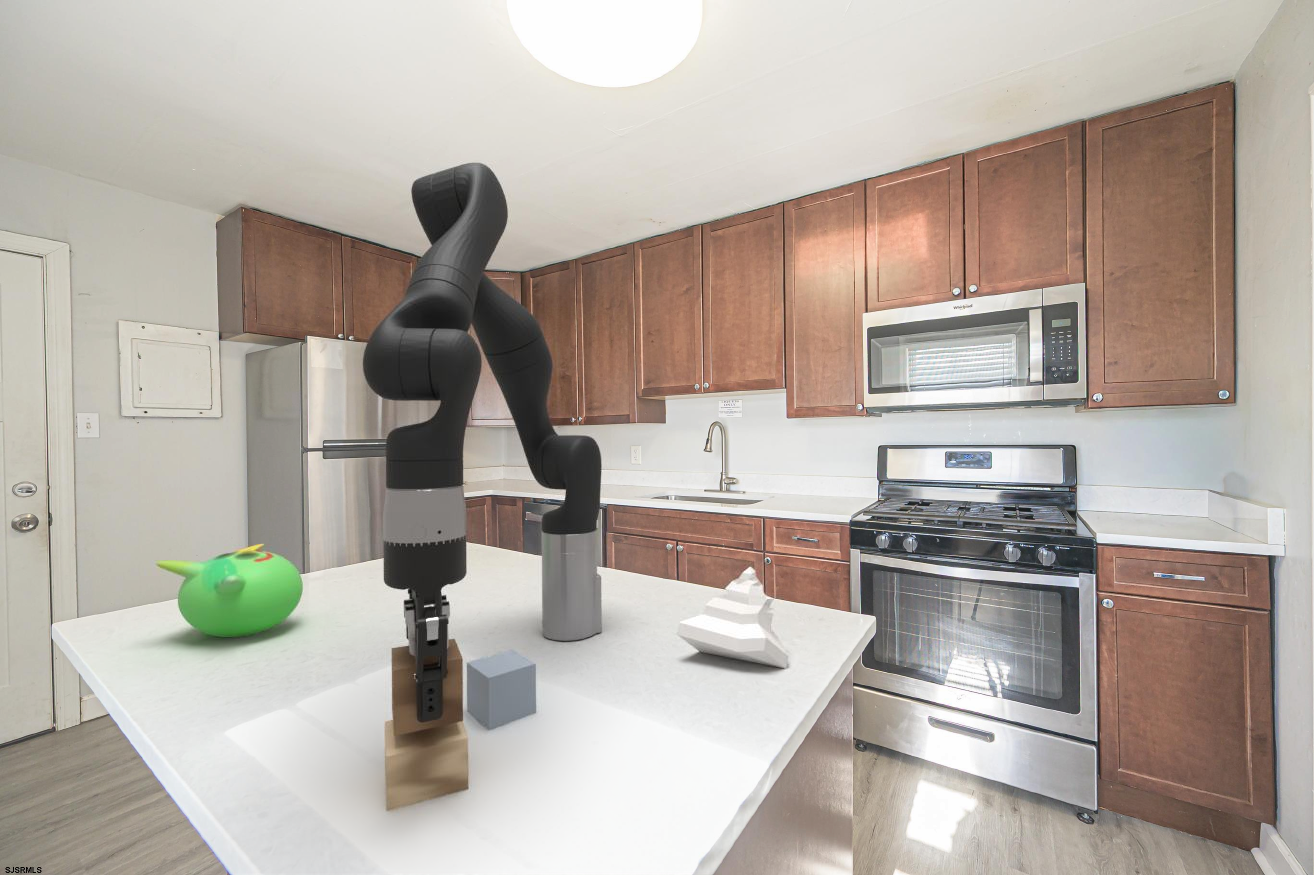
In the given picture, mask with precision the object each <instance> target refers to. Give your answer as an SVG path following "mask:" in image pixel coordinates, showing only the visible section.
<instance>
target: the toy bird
mask: <svg viewBox="0 0 1314 875" xmlns="http://www.w3.org/2000/svg"><path fill="white" fill-rule="evenodd" d="M264 545H265V543H260V544H259V543H258V544H254V545H252V546H248V547H245V548H242V549H239V550H236V551H233V552H227V553H222V554H220V555H218V556H215V557H213V558H210V559H207V560H206V561H204V562H202V561H187V560H159V561H157V562H156V566H157V567H159V568H160V569H163V570H165V571H168V572H171V573H173V574H176V575H178V576H181V577H184V579H183V581H182V584H181V586H180V587H179V590H178V593H177V606H178V609H179V612H180V614H181V615H182V617H183V618H184V620H185V621H186V622H187V623H188V625H190V626H191V627H192V628H194V629H196V630H197V631H199V632H202V633H204V634H206V635H210V636H215V637H221V638H238V637H246V636H250V635H255V634H258V633H262V632H264V631H266V630H269V629H272V628H273V627H274V628H275V626H277V625H279V624H280V623H282V622H283V621H285V620H286V619H287V618H288V617H290V615H291V614H292V613H293V612H294V611H295V610H296V608H297V607H298V604H299V602H300V601H301V598H302V595H303V589H304V585H303V578H302V576H301V574H300V572H299V570H298V569H297V567H296V566H295V565H294V564H292V562H291V561H289V559H286V558H285V557H283V556H281V555H279V554H276V553H272V552H269V551H265V550H264V551H263V550H259V549H260V548H262V547H263V546H264Z"/></svg>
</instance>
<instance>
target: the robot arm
mask: <svg viewBox="0 0 1314 875" xmlns="http://www.w3.org/2000/svg"><path fill="white" fill-rule="evenodd" d="M411 200H412V204H413V207H414V210H415V214H416V216H417V219H418V220H419V222H420V225H421V228H422V229H423V232H424V234H425V236H426V237H427V240H428V241H429V243H430V245H431V246H430V247H429V248H428V249H427V250H426V252H424V254H423V255H422V256H421V258H420V259H419V260H418V262H417V263H416V265H415V266H414V269H413V272H412V273H411V276H410V280H409V282H408V286H407V289H406V291H405V295H404V298H402V300H401V301H399V303H398V304H397V305H395V307H394V308H392V310H391V311H390V312H389V313H388V314H387V315H386V316H385V318H384V319H382V320H381V322H379V324H378V325H377V326H376V328H375V329H374V330H373V331H372V333H371V335H370V336H369V339H368V340H367V341H366V342H367V343H366V345H365V348H364V352H363V357H362V370H363V375H364V378H365V381H366V383H367V384H368V386H369V388H370V389H371V390H372V392H374V394H376V395H377V396H378V397H381V398H383V399H385V400H389V401H399V402H400V401H401V402H402V401H404V402H405V401H406V402H407V401H408V402H409V401H413V402H415V401H416V402H417V401H420V402H421V401H424V402H427V401H430V402H432V401H434V402H439V401H440V402H439V403H440V404H439V406H438V409H437V411H436V412H435V413H434V415H433V416H432V417H431V418H429V419H428V420H425V421H423V422H422V421H421V422H418V423H413V424H408V425H403V426H400V427H396V428H394V429H392V430H391V431H389V433H388V434H387V436H386V441H385V460H386V461H385V487H386V489H385V496H384V499H385V500H384V504H383V513H382V514H383V516H382V519H383V520H382V521H383V522H382V525H383V526H382V527H383V528H382V530H383V536H382V537H383V540H382V541H383V544H382V545H383V552H382V553H383V582H384V584H385V585H386V586H387V587H389V588H391V589H394V590H403V591H404V590H407V594H408V596H409V598H407V599H403V618H404V623H405V636H406V639H407V640H408V646H409V654H410V656H412V657H414V658H415V673H414V679H415V680H416V683H417V719H418V721H419V722H427V721H432V720H437V719H439V718H441V717H442V715H443V679H445V678H447V674H448V668H447V648H448V647H449V639H450V637H449V621H450V620H449V618H450V616H451V608H450V600H447V595H446V594H443V595H442V589H443V588H444V587H446V586H447V585H453V584H457V583H459V582H460V581H462V580H464V578H465V577H466V575H467V572H468V571H467V569H468V568H467V508H466V507H467V506H466V498H465V493H464V492H465V490H464V446H465V445H464V442H465V436H466V430H467V423H468V420H469V414H470V412H471V407H472V405H473V401H474V397H475V394H476V391H477V388H478V385H479V382H480V377H481V374H482V354H481V350H482V352H483V354H484V357H485V359H486V361H487V364H488V366H489V368H490V370H491V372H492V375H493V376H494V379H495V381H496V383H497V384H498V386H499V389H500V390H501V393H502V395H503V398H504V401H505V403H506V406H507V408H508V410H509V413H510V415H511V417H512V420H513V422H514V425H515V427H516V431H517V433H518V436H519V440H520V442H521V446H522V448H523V449H522V450H523V452H524V455H525V458H526V461H527V464H528V466H529V469H530V472H531V474H532V476H533V478H534V479H535V481H536V483H537V484H539V485H540V486H541V487H543V488H546V489H548V490H549V489H550V490H560V491H561V490H563V491H565V493H564V494H565V495H564V501H563V502H562V504H561V505H560V506H558V507H557V508H556V509H553V510H552V509H551V510H549V511H546V512H545V513H544V514H543V515H542V516H541V517H542V518H541V601H542V602H541V603H542V604H541V605H542V606H541V608H542V609H541V610H542V611H541V624H542V630H541V631H542V635H543V636H544V637H545V638H547V639H548V640H549V639H550V640H554V641H561V642H562V641H565V642H566V641H579V640H582V639H588V638H589V637H591V636H594V635H596V634H599V633H602V629H603V628H602V625H603V624H602V622H603V621H602V618H603V617H602V616H603V615H602V605H603V604H602V576H601V575H600V574H599V573H598V547H597V546H598V538H597V537H598V534H597V533H598V525H597V524H598V518H599V514H600V508H601V487H602V486H601V485H602V469H603V468H602V455H601V454H602V453H601V450H600V446H599V445H598V443H597V441H596V440H595V439H594V438H593V437H592V436H589V435H583V434H582V435H578V434H575V435H573V434H570V435H567V434H565V435H564V434H562V435H561V434H560V435H559V434H558V433H557V432H556V429H555V428H554V427H553V423H552V421H551V419H550V415H549V412H548V408H547V403H548V402H547V400H548V396H549V390H550V387H551V382H552V375H553V367H554V366H553V359H552V355H551V352H550V348H549V346H548V344H547V341H546V338H545V335H544V333H543V331H542V328H541V326H540V323H539V322H538V320H537V319H536V317H535V316H534V315H533V314H532V313H531V312H530V311H529V310H528V309H527V308H526V307H525V306H523V304H521V303H520V302H518V301H517V300H516V299H515V298H514V297H513V296H511V295H510V294H508V293H507V292H506V291H505V290H503V289H502V288H501V287H499V286H498V285H497V284H496V283H495V282H493V281H492V279H490V277H488V276H487V274H485V272H484V271H485V270H486V268H487V265H488V263H489V262H490V260H491V258H492V256H493V253H494V252H495V250H496V248H497V246H498V245H499V243H500V242H499V241H500V240H501V238H502V236H503V234H504V233H505V230H506V227H507V225H508V224H507V223H508V219H509V218H508V217H509V216H508V215H509V211H508V210H509V209H508V203H507V202H508V201H507V200H506V195H505V193H504V190H503V187H502V185H501V182H500V181H499V179H498V177H497V176H496V174H495V173H494V171H493V170H492V169H491V168H490V167H489V166H488V165H486V164H483V163H481V162H467V163H463V164H460V165H456V166H453V167H450V168H447V169H443V170H440V171H437V172H434V173H430V174H428V175H424V176H421V177H419V178H417V179H416V180H414V181H413V183H412V185H411ZM471 326H472V328H473V331H474V333H475V335H476V337H477V338H476V339H477V341H478V343H479V345H480V347H481V350H480V348H479V345H478V344H477V342H476V340H475V339H474V338H473V337H472V335H470V333H469V332H468V331H469V330H470V327H471ZM435 656H437V658H438V665H437V666H431V667H425V668H423V661H424V659H426V658H429V657H435Z"/></svg>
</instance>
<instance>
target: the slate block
mask: <svg viewBox="0 0 1314 875" xmlns="http://www.w3.org/2000/svg"><path fill="white" fill-rule="evenodd" d="M466 712H467V713H468V714H470V716H472V717H473V718H474V719H475V720H476V721H478V722H479V723H480V724H482V726H484V727H485V728H486V729H487V730H488V731H491V730H494V729H496V728H498V727H501V726H505V725H506V724H509V723H513V722H515V721H518V720H520V719H523V718H526V717H528V716H531V715H533V714H534V715H535V714H536V713H537V663H535V662H534V661H532V660H531V659H529V658H526V657H525V656H523V655H522V654H520V653H518V652H517V651H515V650H513V649H510V650H507V651H503V652H499V653H496V654H492V655H489V656H485V657H482V658H478V659H474V660H470V661H467V662H466Z"/></svg>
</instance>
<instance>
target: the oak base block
mask: <svg viewBox="0 0 1314 875" xmlns="http://www.w3.org/2000/svg"><path fill="white" fill-rule="evenodd" d="M384 773H385V774H384V777H385V778H384V780H385V781H386V782H385V811H386V812H387V811H391V810H395V809H399V808H402V807H406V806H409V805H414V804H417V802H418V803H422V802H424V800H425V801H428V800H427V799H429V800H432V798H433V799H436V798H439V797H444V796H447V794H448V795H450V794H451V795H452V794H454V793H458V792H459V793H460V792H463V791H466V790H469V736H468V733H467V730H466V727H465V724H464V720H463V721H461V722H457V723H452V724H447V725H443V726H438V727H434V728H429V729H424V730H420V731H415V732H410V733H406V734H401V735H397V736H394V731H393V719H391V720H387V721H386V720H385V721H384ZM435 797H436V798H435Z"/></svg>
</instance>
